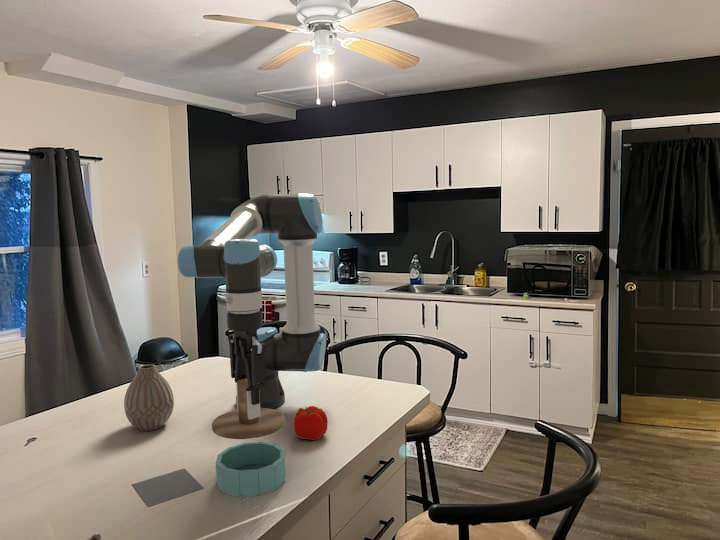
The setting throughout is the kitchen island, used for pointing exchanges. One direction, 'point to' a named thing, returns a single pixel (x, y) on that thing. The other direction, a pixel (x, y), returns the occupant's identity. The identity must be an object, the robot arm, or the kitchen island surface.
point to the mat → (166, 487)
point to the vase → (148, 399)
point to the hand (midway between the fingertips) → (248, 414)
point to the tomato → (310, 423)
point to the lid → (240, 425)
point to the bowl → (250, 469)
